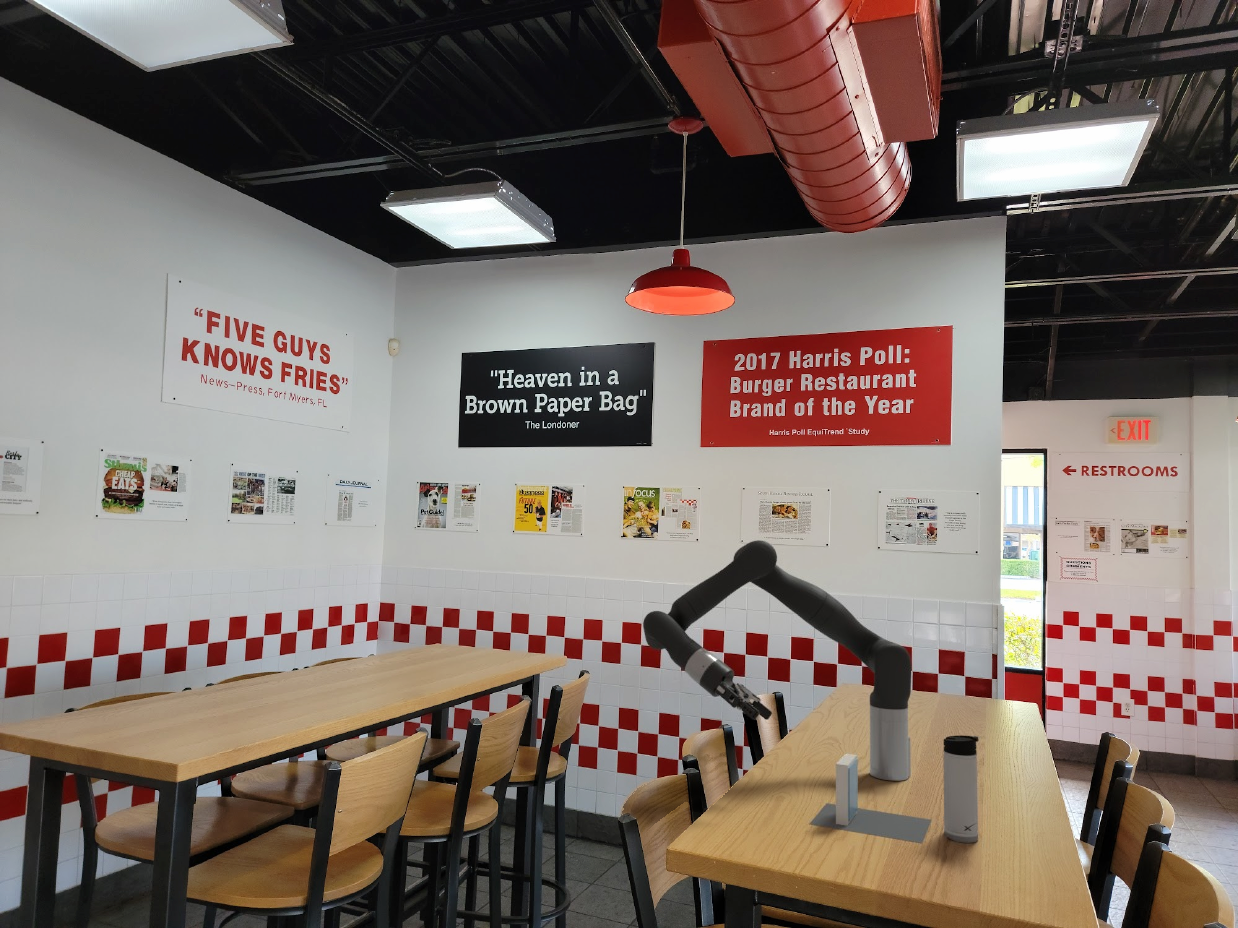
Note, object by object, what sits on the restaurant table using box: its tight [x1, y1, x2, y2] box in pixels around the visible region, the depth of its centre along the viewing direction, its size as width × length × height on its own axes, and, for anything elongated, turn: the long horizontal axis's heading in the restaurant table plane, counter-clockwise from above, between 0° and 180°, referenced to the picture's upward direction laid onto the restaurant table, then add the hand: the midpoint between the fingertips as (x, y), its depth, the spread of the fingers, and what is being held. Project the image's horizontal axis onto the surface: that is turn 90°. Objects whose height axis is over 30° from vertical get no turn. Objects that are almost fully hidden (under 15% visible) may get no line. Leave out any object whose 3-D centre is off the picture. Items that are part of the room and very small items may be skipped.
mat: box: [808, 802, 932, 844], centre depth 176 cm, size 22×16×1 cm
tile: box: [835, 753, 859, 826], centre depth 179 cm, size 3×10×12 cm, turn 154°
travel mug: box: [942, 734, 979, 844], centre depth 170 cm, size 6×7×20 cm
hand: (763, 716), depth 190 cm, fingers open, 8 cm apart
